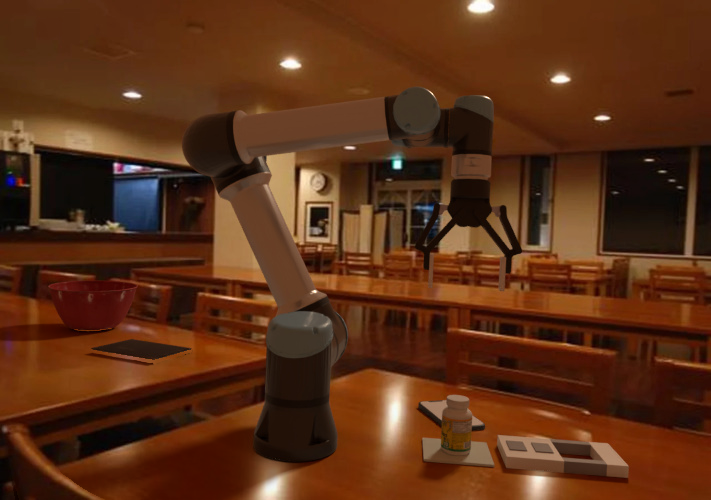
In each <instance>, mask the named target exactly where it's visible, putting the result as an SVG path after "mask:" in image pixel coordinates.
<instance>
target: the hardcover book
mask: <svg viewBox="0 0 711 500" xmlns="http://www.w3.org/2000/svg"><path fill="white" fill-rule="evenodd" d="M90 349H91V350H92V351H93V350H97V351H102V352H108V353H116V354H121V355H127V356H133V357H139V358H145V359H152V360H155V359H159V358H163V357H167V356H170V355H174V354H177V353H180V352H184V351H187V350H191V349H192V350H193V348H191V347H185V346H179V345H173V344H167V343H160V342H155V341H149V340H140V339H134V338H131V339H125V340H122V341H117V342H113V343H108V344H104V345H98V346H93V347H91V348H90Z"/></svg>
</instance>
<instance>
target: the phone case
mask: <svg viewBox="0 0 711 500" xmlns="http://www.w3.org/2000/svg"><path fill="white" fill-rule="evenodd" d="M446 401H447V399H443V400H442V399H441V400H439V399H438V400H425V401H423V400H422V401H419V402H418V406H417V408H418V409H419V410H420V411H421V412H423V413H424V414H425V415H426V416H427V417H429V418H430V419H431V420H433V421H434V422H435V423H436V424H438V425H439V426H440V427H441V428H442V412H443V409H444V408H445V407H447V403H446ZM483 430H486V424H485V423H484V422H483V421H482V420H481V419H478V418H477V417H476V416H475V415H473V414H472V431H483Z"/></svg>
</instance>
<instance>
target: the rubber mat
mask: <svg viewBox="0 0 711 500" xmlns="http://www.w3.org/2000/svg"><path fill="white" fill-rule="evenodd" d="M421 440H422V441H421V442H422V455H423V456H422V457H423V462H427V463H428V462H429V463H442V464H451V465H452V464H453V465H463V466H464V465H466V466H475V467H477V466H478V467H488V468H490V467H491V468H495V462H494V460H493V457H492V454H491V452H490V449H489V446H488V443H487V442H485V441H473V440H471V450H470V453H469V454H467V455H463V456H455V455H450V454H447V453H445V452H444V451H443V450H442V449H441V438H435V437H433V438H432V437H422V439H421Z"/></svg>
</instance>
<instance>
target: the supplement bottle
mask: <svg viewBox="0 0 711 500" xmlns="http://www.w3.org/2000/svg"><path fill="white" fill-rule="evenodd" d="M446 400H447V401H446V403H447V407H445V408H444V409H443V412H442V427H441V429H440V430H441V433H440V439H441V449H442V450H443V451H444V452H445V453H447V454H450V455H455V456H463V455H467V454H469V453H470V450H471V441H472V415H473V412H472V411H471V410H470V409H469V407H470V399H469V397H467V396H465V395H459V394H449V395H447V396H446Z"/></svg>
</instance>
